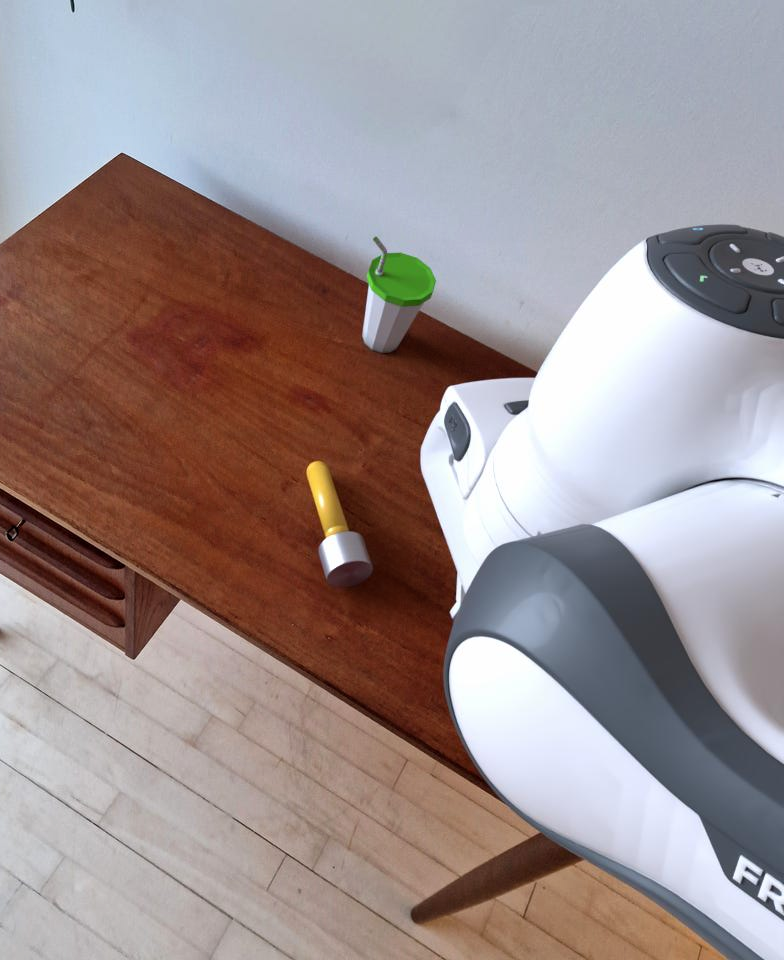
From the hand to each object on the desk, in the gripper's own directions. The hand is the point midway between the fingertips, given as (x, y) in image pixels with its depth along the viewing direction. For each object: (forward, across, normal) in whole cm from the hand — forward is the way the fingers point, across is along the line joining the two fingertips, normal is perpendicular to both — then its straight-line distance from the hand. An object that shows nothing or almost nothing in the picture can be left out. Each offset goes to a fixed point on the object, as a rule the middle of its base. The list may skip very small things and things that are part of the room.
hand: (468, 633), depth 52 cm
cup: (+27, +48, -15) cm, 58 cm away
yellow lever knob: (+24, +16, -2) cm, 30 cm away
